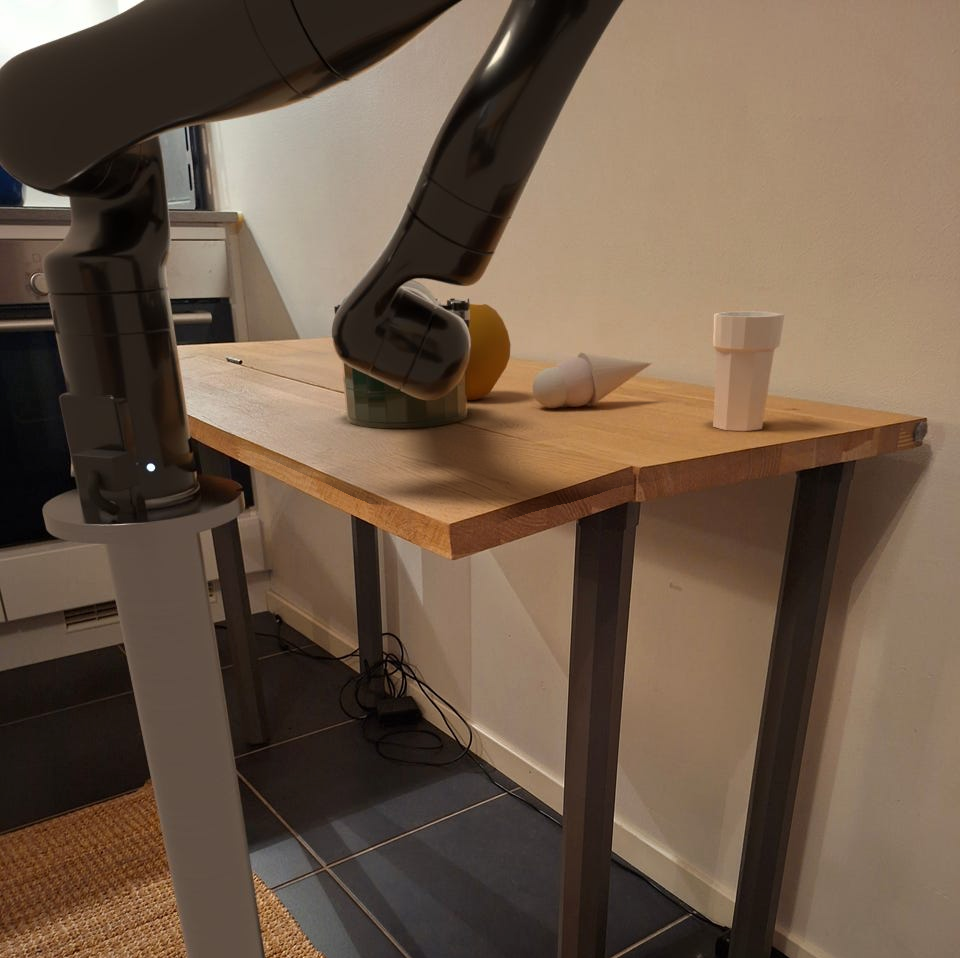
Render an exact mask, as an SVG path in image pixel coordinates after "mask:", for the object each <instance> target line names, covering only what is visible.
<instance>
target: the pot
mask: <svg viewBox="0 0 960 958" xmlns="http://www.w3.org/2000/svg"><path fill="white" fill-rule="evenodd" d="M341 367H342V379H343V380H342V381H343V391H344V404H345V414H346V420H347V422H348V423H350V424H353V425H355V426H360V427H365V428H372V429H373V428H374V429H394V430H395V429H396V430H398V429H402V430H403V429H421V428H430V427H431V428H432V427H439V426H445V425H450V424H454V423H457V422H460V421H462V420H465V419H466V418H467V416H468V400H467V371H466V370H465V372H464V374H463V376H462V378H461V380H460V381H459V383H458V384H457V385H456V386H455V388H454V389H453V390H451V391H450V392H449V393H448V394H447V395H445V396H443V397H441V398H439V399H436V400H422V399H418V398H416V397H413V396H411V395H409V394H407V393H404V392H402V391H401V390H400V389H397V388H394V387H392V386H390V385H388V384H386V383H384V382H382V381H380V380H377V379H375V378H373V377H371V376H369V374H368V375H367V374H365V373H363V372H360V371H358V370H356V369H354V368H352V367H350V366H348V365H347V364H346V363H344V362H343V361H342V360H341Z"/></svg>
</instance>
